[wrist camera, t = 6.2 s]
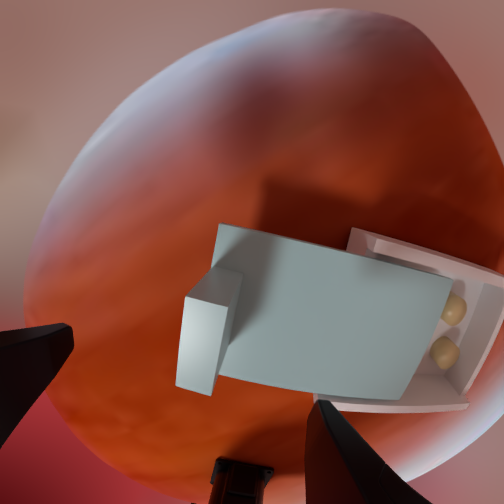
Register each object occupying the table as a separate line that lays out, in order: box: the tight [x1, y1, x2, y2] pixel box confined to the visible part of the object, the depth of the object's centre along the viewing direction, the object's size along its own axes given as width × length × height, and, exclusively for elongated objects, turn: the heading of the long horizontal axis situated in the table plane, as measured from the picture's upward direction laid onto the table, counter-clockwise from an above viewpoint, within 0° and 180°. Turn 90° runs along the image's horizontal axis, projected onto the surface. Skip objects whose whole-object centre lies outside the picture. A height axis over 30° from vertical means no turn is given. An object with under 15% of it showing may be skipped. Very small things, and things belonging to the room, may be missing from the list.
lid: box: [176, 223, 454, 400], centre depth 12 cm, size 9×14×5 cm, turn 78°
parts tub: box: [313, 227, 504, 413], centre depth 16 cm, size 11×14×5 cm
